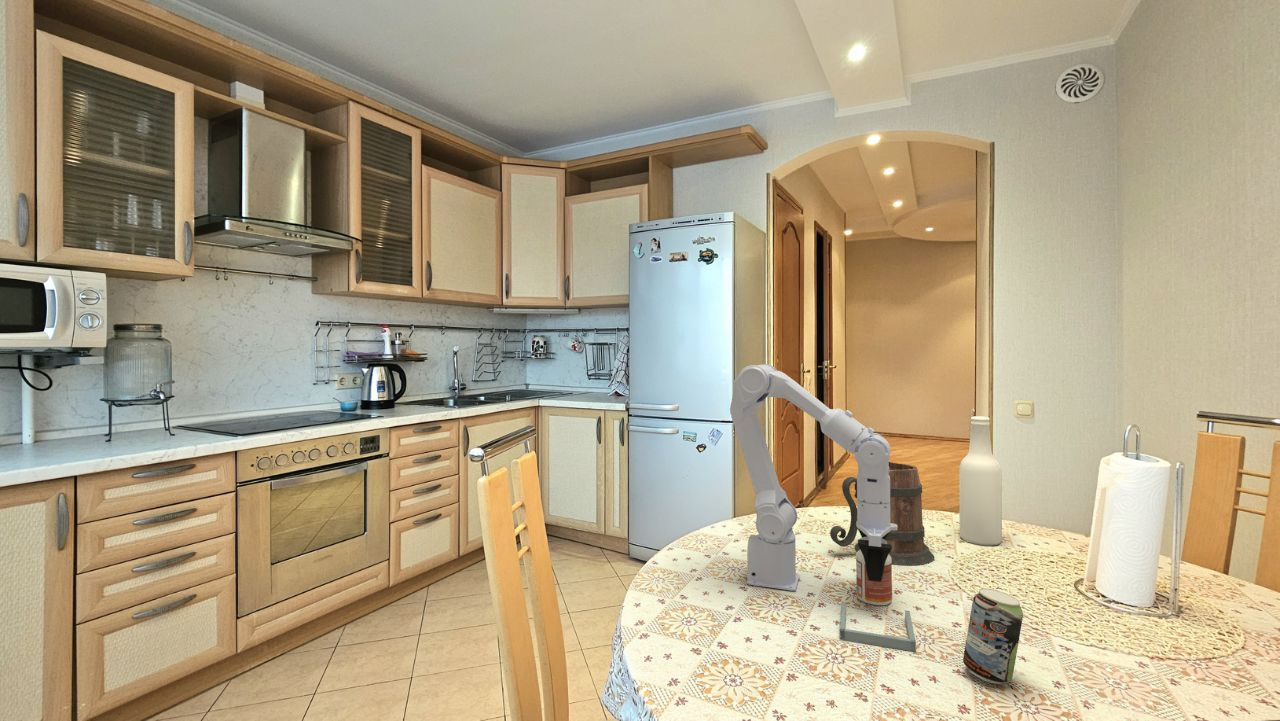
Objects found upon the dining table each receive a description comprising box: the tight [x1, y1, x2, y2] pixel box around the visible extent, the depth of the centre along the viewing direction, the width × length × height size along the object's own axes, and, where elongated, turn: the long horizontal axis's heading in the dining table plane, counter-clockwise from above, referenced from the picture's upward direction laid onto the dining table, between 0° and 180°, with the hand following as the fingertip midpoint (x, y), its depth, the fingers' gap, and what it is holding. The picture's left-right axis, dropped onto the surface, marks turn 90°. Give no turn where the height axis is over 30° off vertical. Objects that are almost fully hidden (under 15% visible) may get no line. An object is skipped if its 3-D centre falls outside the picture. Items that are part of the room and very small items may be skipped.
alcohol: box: [958, 415, 1003, 547], centre depth 135 cm, size 9×9×30 cm
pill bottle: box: [855, 537, 893, 606], centre depth 104 cm, size 6×6×11 cm
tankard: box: [829, 461, 936, 567], centre depth 127 cm, size 24×17×20 cm
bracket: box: [839, 600, 917, 653], centre depth 93 cm, size 11×11×2 cm
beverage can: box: [962, 587, 1024, 685], centre depth 79 cm, size 6×7×12 cm
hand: (874, 572), depth 104 cm, fingers open, 7 cm apart
